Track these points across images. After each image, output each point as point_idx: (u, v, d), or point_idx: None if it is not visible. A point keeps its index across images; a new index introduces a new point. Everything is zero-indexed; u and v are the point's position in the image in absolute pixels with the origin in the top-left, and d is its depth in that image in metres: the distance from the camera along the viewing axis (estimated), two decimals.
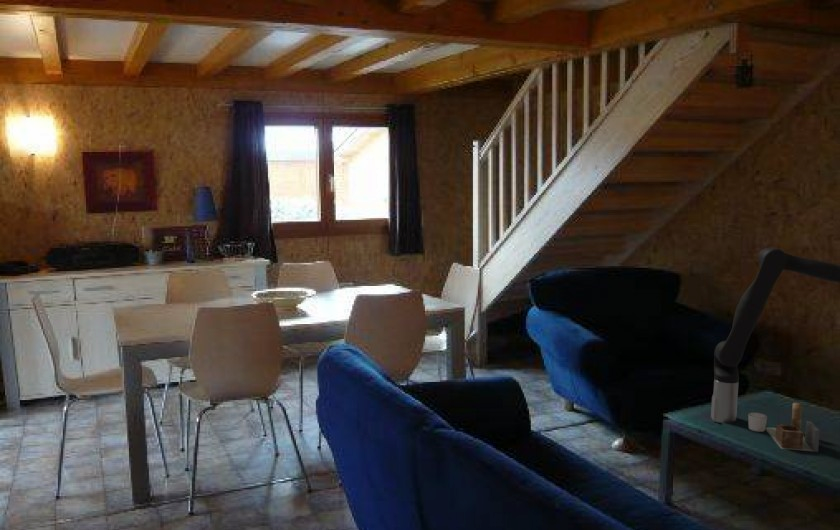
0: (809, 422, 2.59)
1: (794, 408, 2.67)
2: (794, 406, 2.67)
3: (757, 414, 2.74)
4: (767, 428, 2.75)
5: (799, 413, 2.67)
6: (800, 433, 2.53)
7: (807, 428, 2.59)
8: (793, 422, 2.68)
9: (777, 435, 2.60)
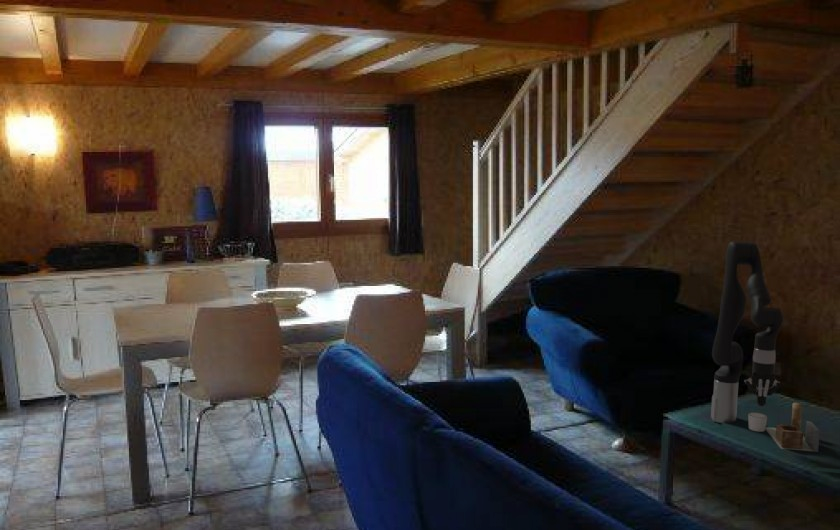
0: (809, 422, 2.59)
1: (794, 408, 2.67)
2: (794, 406, 2.67)
3: (757, 414, 2.74)
4: (767, 428, 2.75)
5: (799, 413, 2.67)
6: (800, 433, 2.53)
7: (807, 428, 2.59)
8: (793, 422, 2.68)
9: (777, 435, 2.60)
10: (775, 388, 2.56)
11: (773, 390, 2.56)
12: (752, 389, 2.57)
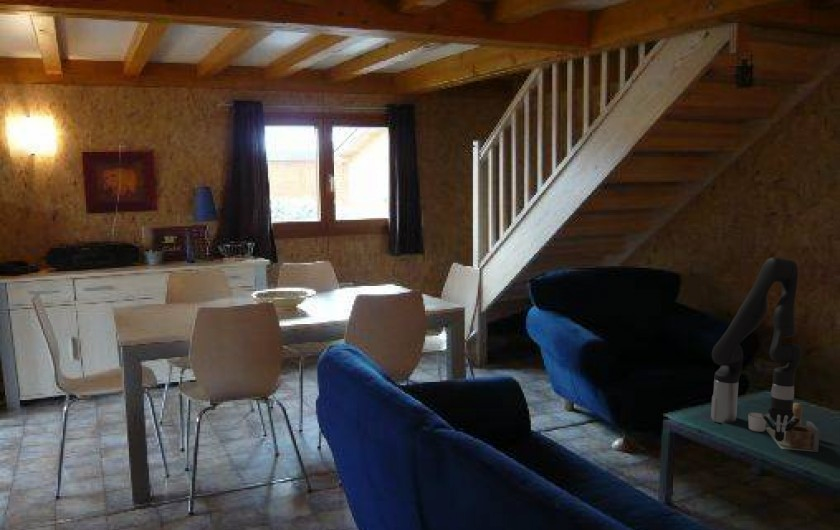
0: (809, 422, 2.59)
1: (794, 408, 2.67)
2: (794, 406, 2.67)
3: (757, 414, 2.74)
4: (767, 428, 2.75)
5: (799, 413, 2.66)
6: (810, 434, 2.52)
7: None
8: None
9: (787, 436, 2.59)
10: (793, 424, 2.55)
11: (791, 426, 2.56)
12: (770, 424, 2.57)
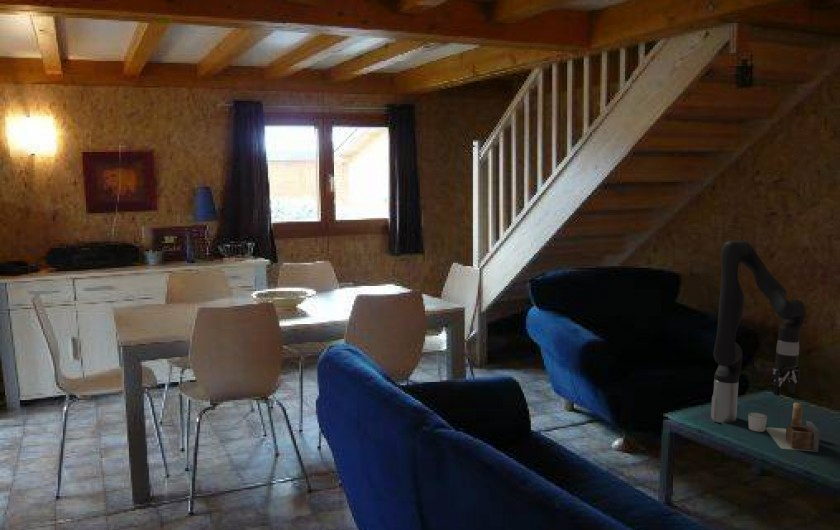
0: (809, 422, 2.59)
1: (795, 408, 2.67)
2: (795, 406, 2.67)
3: (757, 414, 2.74)
4: (767, 428, 2.75)
5: (800, 413, 2.67)
6: (810, 434, 2.52)
7: None
8: (793, 422, 2.68)
9: (787, 436, 2.59)
10: (799, 372, 2.62)
11: (798, 375, 2.63)
12: (777, 379, 2.57)
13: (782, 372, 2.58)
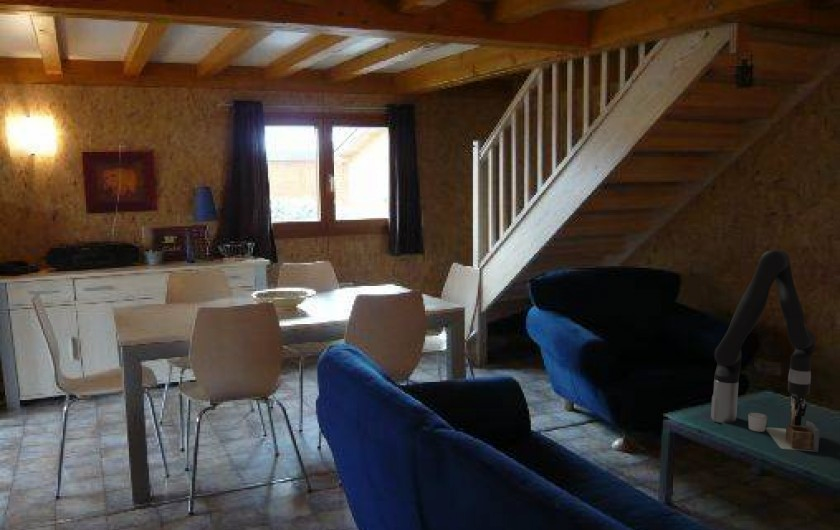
0: (809, 422, 2.59)
1: None
2: None
3: (757, 414, 2.74)
4: (767, 428, 2.75)
5: None
6: (810, 434, 2.52)
7: None
8: (793, 422, 2.68)
9: (787, 436, 2.59)
10: None
11: None
12: None
13: None
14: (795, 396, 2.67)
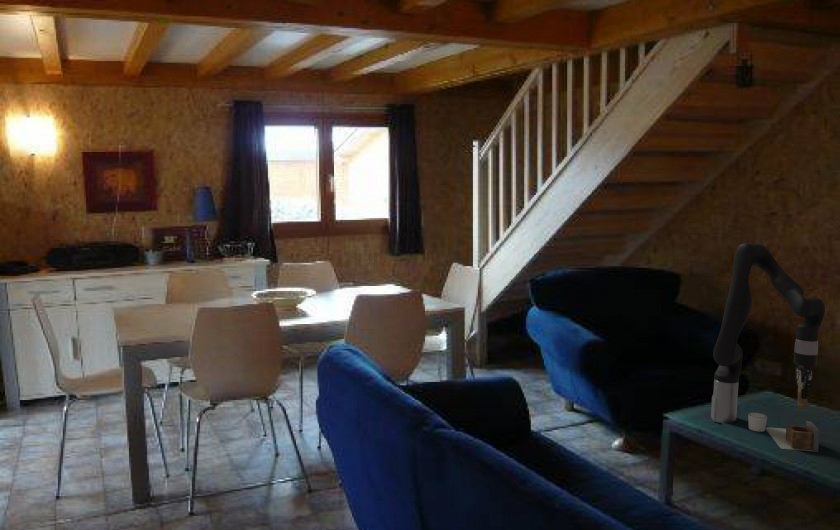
0: (809, 422, 2.59)
1: None
2: None
3: (757, 414, 2.74)
4: (767, 428, 2.75)
5: None
6: (810, 434, 2.52)
7: None
8: (800, 395, 2.54)
9: (787, 436, 2.59)
10: None
11: None
12: None
13: None
14: (801, 368, 2.53)
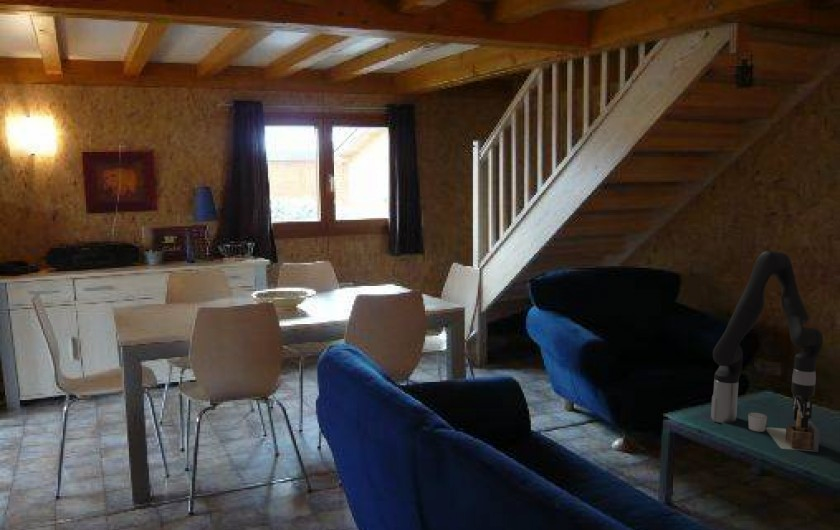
0: (809, 422, 2.59)
1: (799, 415, 2.55)
2: (799, 413, 2.55)
3: (757, 414, 2.74)
4: (767, 428, 2.75)
5: None
6: (810, 434, 2.52)
7: None
8: (797, 429, 2.56)
9: (787, 436, 2.59)
10: None
11: None
12: None
13: None
14: (799, 398, 2.55)
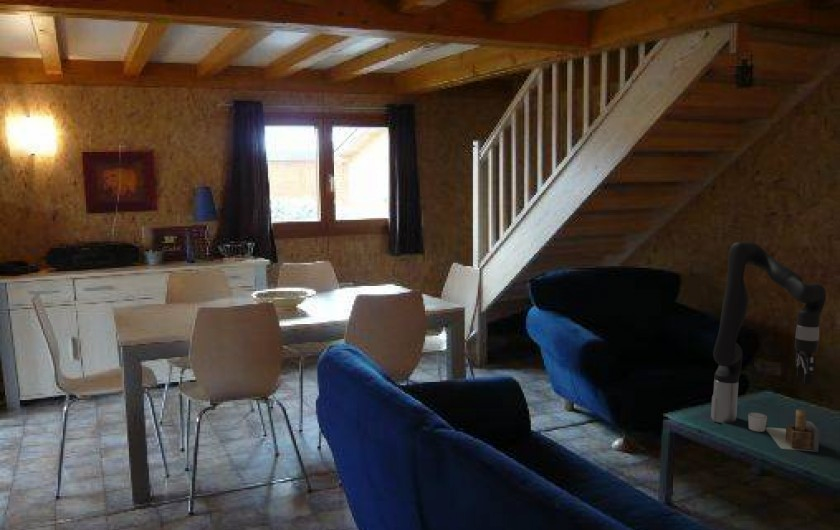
0: (809, 422, 2.59)
1: (798, 415, 2.55)
2: (798, 413, 2.55)
3: (757, 414, 2.74)
4: (767, 428, 2.75)
5: (803, 420, 2.54)
6: (810, 434, 2.52)
7: None
8: (797, 430, 2.56)
9: (787, 436, 2.59)
10: None
11: None
12: None
13: None
14: (803, 354, 2.53)
